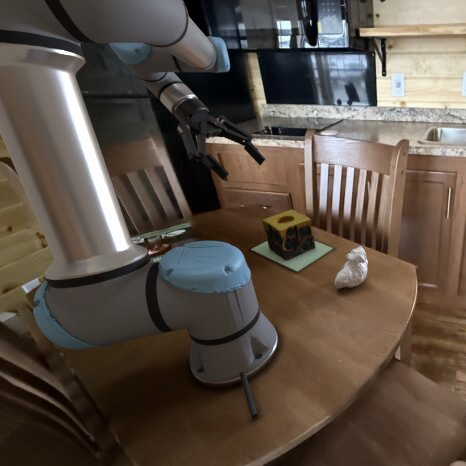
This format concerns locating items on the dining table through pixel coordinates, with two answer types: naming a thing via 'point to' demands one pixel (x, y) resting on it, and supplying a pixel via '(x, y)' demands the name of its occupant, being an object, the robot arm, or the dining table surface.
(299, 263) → the napkin
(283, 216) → the yellow and black cube
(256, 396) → the dining table surface
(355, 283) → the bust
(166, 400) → the dining table surface
